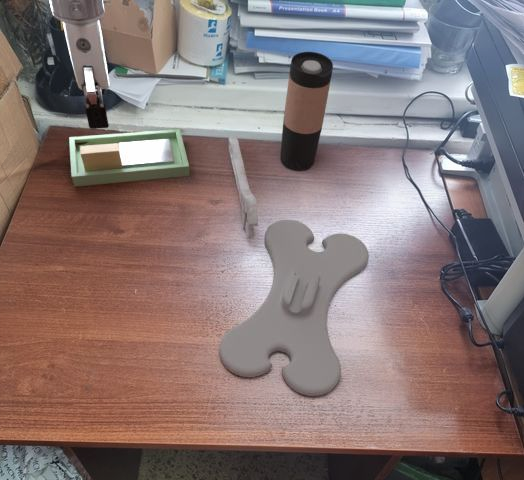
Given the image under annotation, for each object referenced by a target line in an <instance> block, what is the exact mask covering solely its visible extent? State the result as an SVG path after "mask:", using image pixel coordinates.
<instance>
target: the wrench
mask: <svg viewBox="0 0 524 480" xmlns="http://www.w3.org/2000/svg"><path fill="white" fill-rule="evenodd" d="M228 152H229V157H230V161H231V165H232V169H233V175H234V179H235V182H236V188H237V192H238V197H239V202H240V209H241V218H242V230H245V233H246V235H247V237H248V238H249V239H253V238H254V237H255V235H256V234H255V227H258V226H259V212H258V211H259V210H258V203H257V199H256V197H255V196H254V195H253V193H252V191H251V190H250V185H249V181H248V177H247V173H246V172H247V171H246V169H245V164H244V159H243V155H242V152H241V147H240V143H239V139H238V136H229V137H228Z"/></svg>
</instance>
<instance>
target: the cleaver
mask: <svg viewBox="0 0 524 480" xmlns="http://www.w3.org/2000/svg"><path fill="white" fill-rule="evenodd" d="M119 148H120V150H119ZM80 153H81V158H82V161H83V165H84V169H85V172H93V171H105V170H116V169H127V168H138V167H149V166H161V165H172V164H174V159H173V154H172V150H171V145H170V141H169V139H161V140H149V141H136V142H124V143H119V145H118V143H113V144H101V145H88V146H80ZM120 155H121V156H120Z"/></svg>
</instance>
